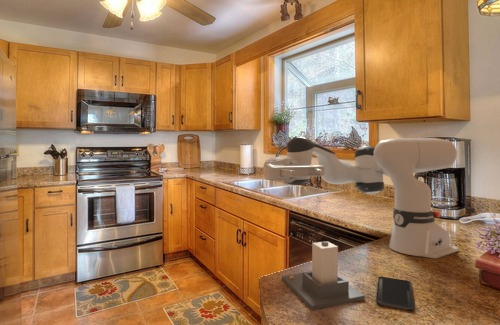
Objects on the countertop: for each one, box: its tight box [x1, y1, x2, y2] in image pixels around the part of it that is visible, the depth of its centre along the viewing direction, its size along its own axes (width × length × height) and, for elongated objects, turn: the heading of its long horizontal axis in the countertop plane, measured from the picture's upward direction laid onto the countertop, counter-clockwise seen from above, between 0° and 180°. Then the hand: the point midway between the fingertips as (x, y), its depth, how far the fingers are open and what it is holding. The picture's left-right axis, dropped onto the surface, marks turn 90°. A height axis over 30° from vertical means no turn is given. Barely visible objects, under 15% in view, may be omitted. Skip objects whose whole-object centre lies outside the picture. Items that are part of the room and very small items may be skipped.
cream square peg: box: [311, 240, 339, 284], centre depth 73 cm, size 4×4×12 cm
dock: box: [281, 271, 366, 311], centre depth 75 cm, size 14×16×4 cm
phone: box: [375, 276, 416, 313], centre depth 72 cm, size 8×1×15 cm
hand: (306, 172), depth 93 cm, fingers open, 8 cm apart
